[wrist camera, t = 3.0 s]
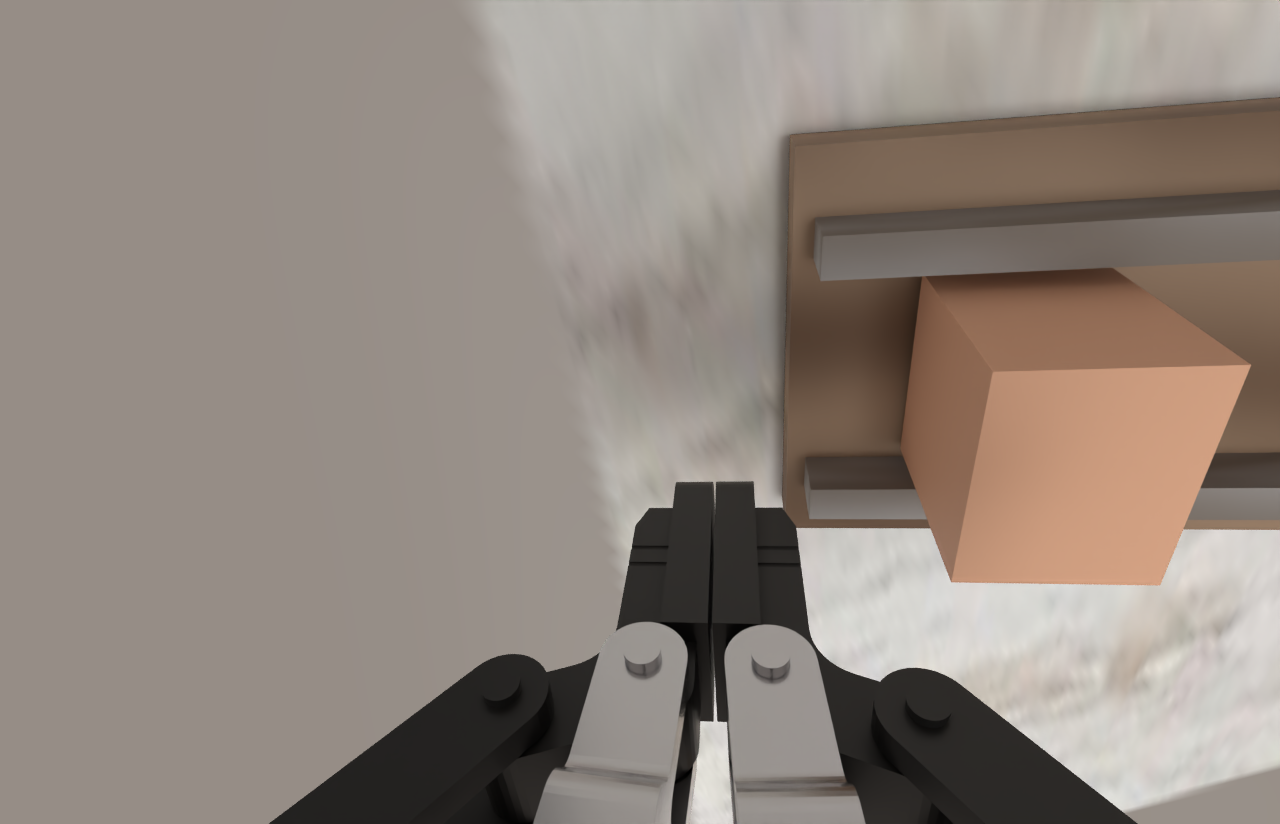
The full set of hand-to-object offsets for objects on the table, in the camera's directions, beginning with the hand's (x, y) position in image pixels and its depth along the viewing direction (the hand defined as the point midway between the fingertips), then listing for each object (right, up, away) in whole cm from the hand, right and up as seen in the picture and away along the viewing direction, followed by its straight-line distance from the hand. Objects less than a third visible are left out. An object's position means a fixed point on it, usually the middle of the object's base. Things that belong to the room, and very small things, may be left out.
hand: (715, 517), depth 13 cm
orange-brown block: (+7, +3, +4) cm, 9 cm away
